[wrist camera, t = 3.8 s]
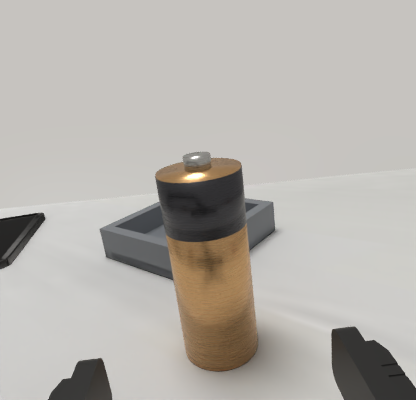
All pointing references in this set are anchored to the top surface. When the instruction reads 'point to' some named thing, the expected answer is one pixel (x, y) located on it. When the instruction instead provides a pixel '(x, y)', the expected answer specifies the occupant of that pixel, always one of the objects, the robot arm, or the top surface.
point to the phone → (17, 235)
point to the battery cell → (210, 258)
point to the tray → (156, 237)
